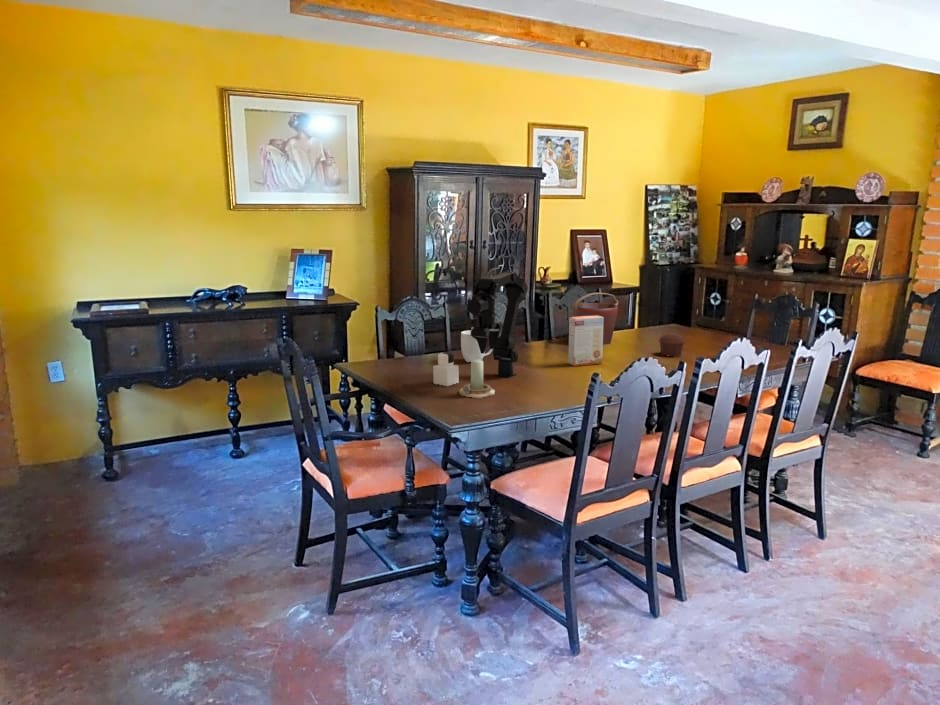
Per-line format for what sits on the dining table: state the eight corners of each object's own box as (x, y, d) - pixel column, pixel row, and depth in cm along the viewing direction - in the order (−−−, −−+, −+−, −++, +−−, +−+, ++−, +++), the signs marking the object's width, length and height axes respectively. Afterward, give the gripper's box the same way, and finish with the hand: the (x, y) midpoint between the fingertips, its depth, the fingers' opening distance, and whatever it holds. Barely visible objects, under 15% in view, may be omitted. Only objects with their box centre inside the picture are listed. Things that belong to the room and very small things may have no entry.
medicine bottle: (445, 380, 270) (445, 350, 268) (458, 383, 266) (458, 353, 263) (433, 383, 265) (432, 353, 262) (446, 386, 261) (446, 356, 258)
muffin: (686, 353, 319) (687, 332, 317) (681, 358, 309) (683, 336, 307) (660, 351, 324) (662, 330, 322) (655, 355, 315) (656, 334, 313)
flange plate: (473, 386, 261) (473, 376, 260) (501, 392, 253) (501, 381, 252) (452, 394, 250) (452, 383, 250) (480, 400, 243) (480, 389, 242)
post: (478, 388, 255) (478, 359, 252) (485, 391, 251) (485, 361, 249) (468, 389, 252) (468, 360, 250) (475, 392, 248) (475, 363, 246)
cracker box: (595, 361, 304) (597, 314, 299) (602, 364, 298) (604, 316, 294) (567, 363, 299) (568, 316, 295) (573, 366, 294) (575, 318, 289)
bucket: (613, 337, 357) (615, 290, 352) (625, 346, 336) (627, 295, 331) (567, 338, 356) (568, 290, 351) (576, 346, 334) (577, 296, 329)
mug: (488, 357, 311) (488, 329, 308) (497, 362, 301) (497, 333, 298) (457, 359, 306) (457, 331, 303) (465, 364, 296) (465, 335, 293)
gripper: (477, 306, 270) (476, 345, 273) (457, 313, 253) (457, 354, 257) (503, 308, 266) (502, 347, 269) (485, 315, 249) (485, 356, 252)
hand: (486, 351), depth 262 cm, fingers open, 9 cm apart
